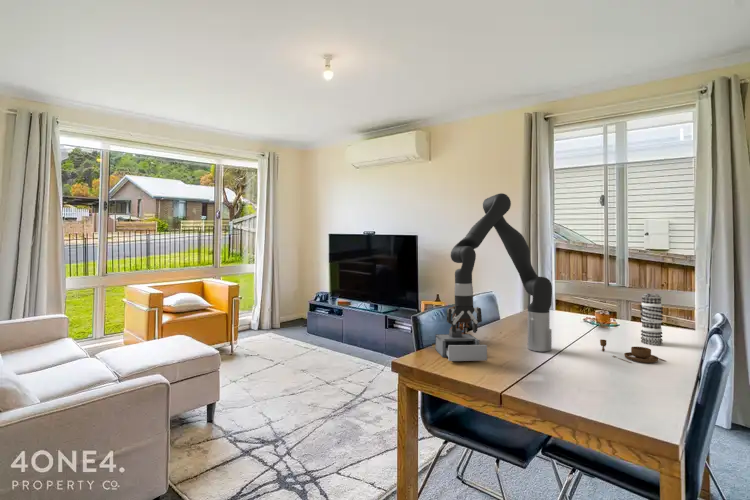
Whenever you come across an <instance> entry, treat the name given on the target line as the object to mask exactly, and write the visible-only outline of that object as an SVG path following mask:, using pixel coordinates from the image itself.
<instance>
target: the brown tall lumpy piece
mask: <svg viewBox="0 0 750 500" xmlns="http://www.w3.org/2000/svg"><path fill="white" fill-rule="evenodd" d="M448 308H450V309H454V308H455V305H453V306H451V307H448ZM455 315H456V313H455V312H453V314H452V315H451V321H452V320H453V318H454V316H455ZM471 322H472V320H471V319H470V318H469V319H466V318H464V319H461V318H460V319H459V320H458V321H457V322H456V324H455V325H456V329H460V330H462V334H467V333H466V331H467V329H469V328H470V324H471ZM450 329H452V325H451V326H450Z"/></svg>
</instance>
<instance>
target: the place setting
mask: <svg viewBox="0 0 750 500" xmlns="http://www.w3.org/2000/svg"><path fill="white" fill-rule="evenodd" d="M599 343H600V345H599V346H601V350H602V352H605V347H606V346H607V339H600V340H599ZM630 348H631V349H630V351H631V352H625V353H624V357H625V359H622V358H620V357H619V358H618V357H617V356H615V355H611V356H612V357H613V358H618V359H619V360H621V361H623V362H627V363H630V364H632V362H630V361H633V362H636V363H642V364H653V363H657V362H658V361H659V360H661V361H664V362H666V360H665V359H662V358H659V357H658V356H656V355H653V354H652V349H651V348H648V347H644V346H631V347H630ZM626 359H627V360H626ZM628 360H630V361H628Z"/></svg>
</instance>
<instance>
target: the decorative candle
mask: <svg viewBox="0 0 750 500" xmlns="http://www.w3.org/2000/svg"><path fill="white" fill-rule="evenodd" d="M662 305H663V304H662V297H661V296H660V294H658V293H652V292H651V293H648V292H646V293H644V294H643V295H641V305H640V306H639V308H640V321H641V329H640V332H641V333H640V335H641V337H640V342H641V343H642V344H644V345H649V346H657V347H658V346H662V345H663V332H662V331H663V330H662V323H663V320H664V319H663V317H664V316H663V315H662V314H663V313H664V311H663V310H664V308H663V307H662Z"/></svg>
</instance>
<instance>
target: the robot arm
mask: <svg viewBox="0 0 750 500" xmlns="http://www.w3.org/2000/svg"><path fill="white" fill-rule="evenodd" d="M511 206H512V201H511V199H510V197H509V196H508V194H506V193H502V192H501V193H497V194H494V195H492V196H489V197H487V198H485V199H484V200H483V201H482V210H483V211H484V213H485V215H484V216H482V217H481V218H480V219H479V220H478V221H477V222H476V223H475V224H474V225H473V226H472V227H471V228H470V229H469V231H468V232H467V234H466V235H465V237H463V238H462V239H460V241H459V242H457V243H456V244H455V245H454V246H453V248H451V251H450V259H451V261H452V262H454V263H456V264H461V267H460V268H458V269H456V270H455V272H454V306H455V308H454V309H450V308H449V307H448V308H447V309H446V310H447V311H446V322H447V323H448V324H450V325H451V326H452V332H453V333H454V334H456V322H457V321H458V320H459V319H460V318H461V319H464V318H466V319H469V318H470V319H471V322H472V333H474V334H476V333H477V332H478V325H479V323H482V321H483V318H482V309H481V307H479V306H477V307H474V289H473V288H474V287H473V271H474V267H475V263H476V259H477V258H476V257H477V254H476V250H475V249H478V248H479V247H480V245H481V244H482V242H483V241H484V239H486V237H487V235H488V234H489V232H490V231H491V230H492V229H493V228H494V229H495V231H496V234H497V235H498V237H499V238H500V240H501V242H502V244H503V246H504V248H505V250H506V252H507V254H508V255H509V258H510V259H511V261H512V263H513V264H514V267H515V269H516V271H517V272H518V276H519V278H520V280H521V283H522V286H523V288H524V290H525V292H526V293H527V294H529V295H530V296H532V301H531V302H530V303H529V304H528V305H527V349H528V350H530V351H533V352H534V351H535V352H550V351H552V348H553V347H552V340H553V339H552V337H553V336H552V329H551V328H550V326H551V325H550V323H551V322H550V311H551V306H552V299H553V286H552V282H551V280H550V279H549V278H547V277H545V276H539V275H538V274H537V273H536V272H535V271H536V270H535V269H534V268H533V266H532V262H531V251H530V250H531V249H530V247H529V245H528V243H527V241H526V239H525V236H523V234H522V233H520V232H519V231H518V230H517V229H515V228H514V227H513V226H512V225H511V224H509V222H508V221H507V220H506V219H505V217H504V216H505V214H507V213H508V212H509V210H510V209H511ZM453 313H456V315H455V316H454V318H453V320H452V315H453ZM474 313H476V317H475V316H474V315H473V314H474Z"/></svg>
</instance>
